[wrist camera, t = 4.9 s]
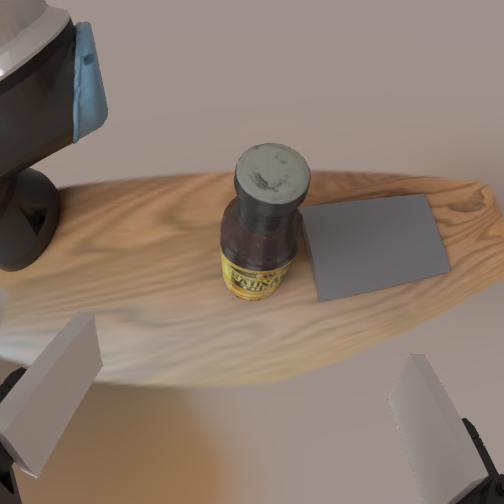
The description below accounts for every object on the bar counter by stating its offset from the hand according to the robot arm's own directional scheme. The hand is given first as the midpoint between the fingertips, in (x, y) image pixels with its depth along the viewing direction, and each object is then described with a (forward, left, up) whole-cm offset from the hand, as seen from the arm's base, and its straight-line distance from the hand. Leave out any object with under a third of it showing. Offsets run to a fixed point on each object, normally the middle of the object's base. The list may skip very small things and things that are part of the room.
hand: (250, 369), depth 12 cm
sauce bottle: (-7, +6, -21) cm, 23 cm away
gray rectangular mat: (-2, +21, -21) cm, 29 cm away
